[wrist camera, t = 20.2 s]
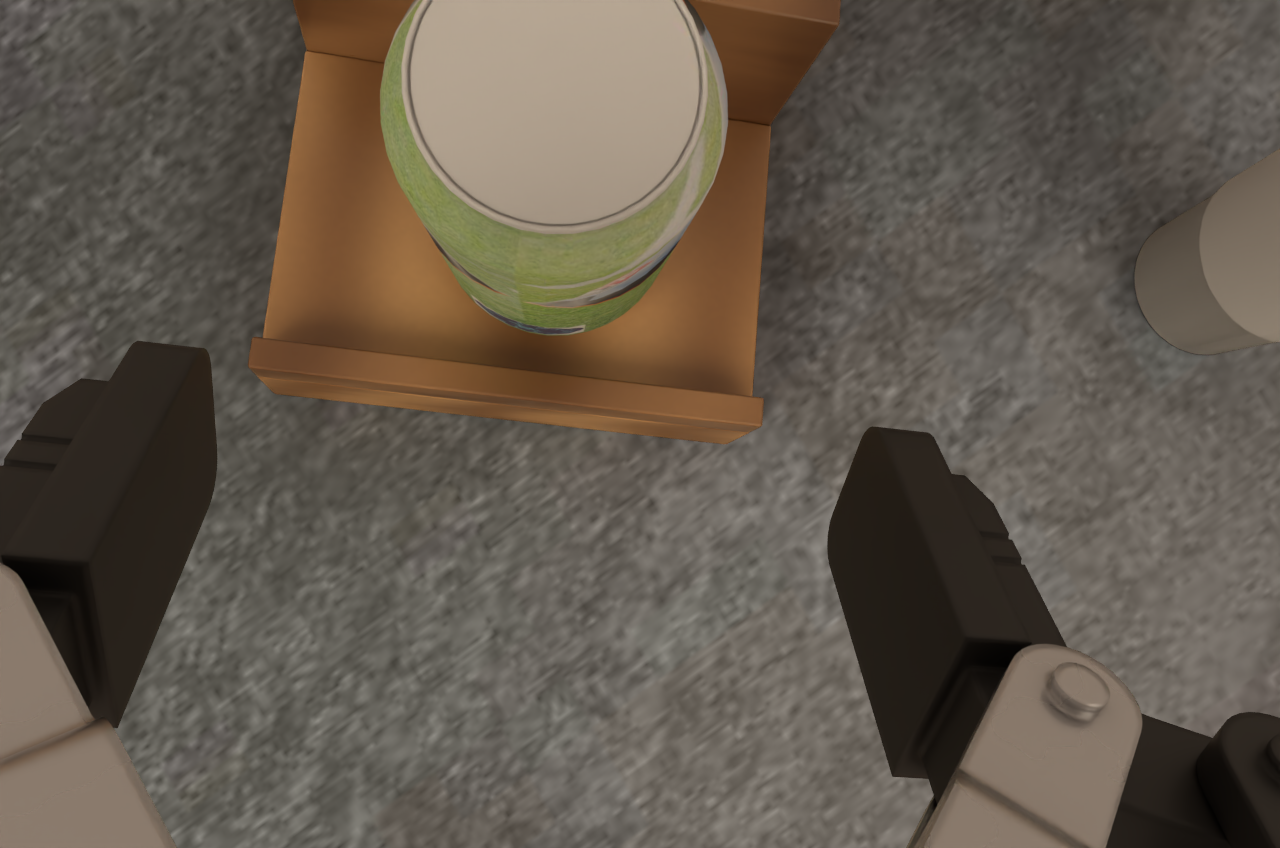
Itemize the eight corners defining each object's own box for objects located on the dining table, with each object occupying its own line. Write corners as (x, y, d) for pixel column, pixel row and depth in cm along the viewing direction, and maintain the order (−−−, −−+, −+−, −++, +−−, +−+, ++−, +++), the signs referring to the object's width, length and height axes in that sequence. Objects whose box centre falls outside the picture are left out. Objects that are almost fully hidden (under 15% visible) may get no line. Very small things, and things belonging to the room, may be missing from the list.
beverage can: (693, 190, 29) (851, -71, 17) (587, 425, 28) (681, 313, 16) (488, 89, 29) (508, -251, 17) (368, 324, 27) (299, 131, 15)
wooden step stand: (272, 394, 29) (204, 325, 21) (349, -124, 31) (313, -357, 24) (727, 444, 31) (818, 399, 23) (763, -46, 33) (856, -236, 26)
